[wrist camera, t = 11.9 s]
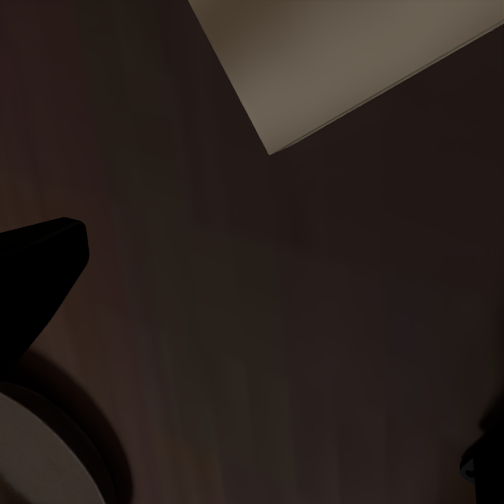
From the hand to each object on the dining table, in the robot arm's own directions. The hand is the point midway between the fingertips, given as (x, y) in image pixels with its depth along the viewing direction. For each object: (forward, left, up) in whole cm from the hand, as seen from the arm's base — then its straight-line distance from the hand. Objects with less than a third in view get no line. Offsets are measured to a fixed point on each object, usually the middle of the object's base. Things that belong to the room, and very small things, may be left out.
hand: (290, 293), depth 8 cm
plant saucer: (+14, +37, -12) cm, 41 cm away
